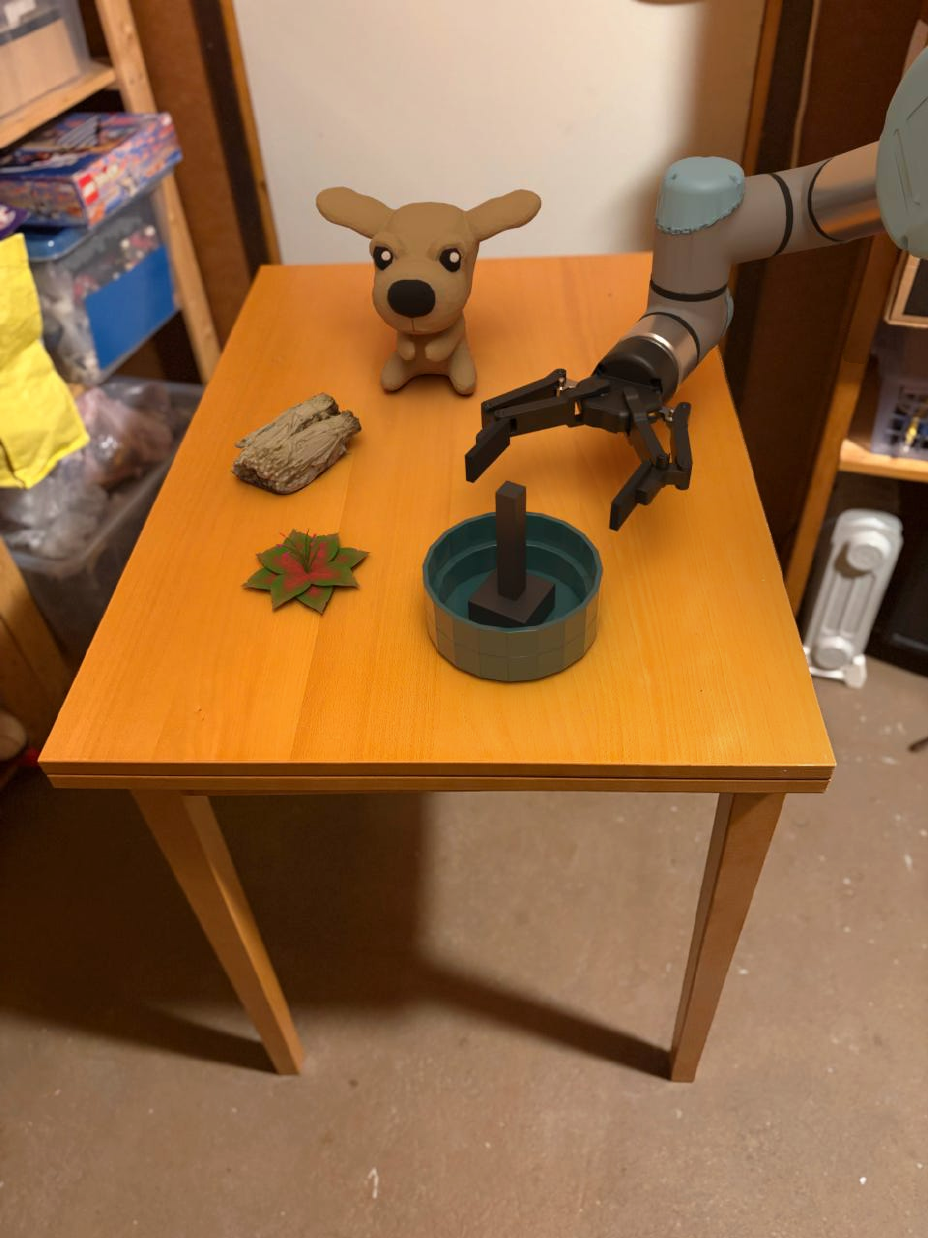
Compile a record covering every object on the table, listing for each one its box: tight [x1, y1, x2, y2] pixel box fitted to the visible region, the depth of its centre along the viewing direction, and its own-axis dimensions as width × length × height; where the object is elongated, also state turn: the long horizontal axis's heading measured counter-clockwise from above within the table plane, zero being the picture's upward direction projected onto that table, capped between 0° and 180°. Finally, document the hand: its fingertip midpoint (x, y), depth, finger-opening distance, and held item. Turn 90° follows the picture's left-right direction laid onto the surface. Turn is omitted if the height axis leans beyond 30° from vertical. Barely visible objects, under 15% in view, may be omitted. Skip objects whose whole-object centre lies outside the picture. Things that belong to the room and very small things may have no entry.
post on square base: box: [468, 479, 556, 628], centre depth 77 cm, size 6×6×14 cm
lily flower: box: [239, 528, 372, 615], centre depth 86 cm, size 12×12×5 cm
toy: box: [315, 186, 542, 395], centre depth 105 cm, size 25×20×20 cm
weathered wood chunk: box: [230, 392, 363, 495], centre depth 99 cm, size 14×10×5 cm, turn 142°
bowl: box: [421, 510, 604, 682], centre depth 80 cm, size 15×15×6 cm
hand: (538, 492), depth 77 cm, fingers open, 13 cm apart
